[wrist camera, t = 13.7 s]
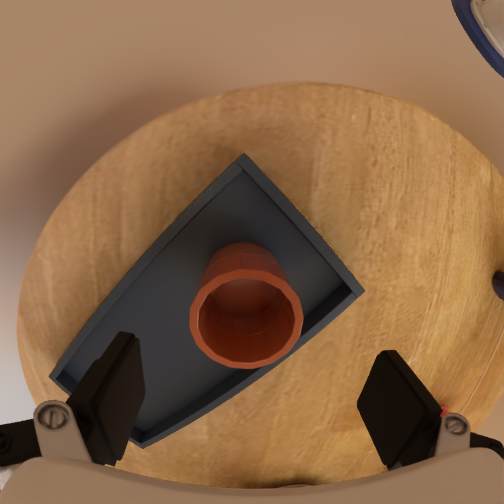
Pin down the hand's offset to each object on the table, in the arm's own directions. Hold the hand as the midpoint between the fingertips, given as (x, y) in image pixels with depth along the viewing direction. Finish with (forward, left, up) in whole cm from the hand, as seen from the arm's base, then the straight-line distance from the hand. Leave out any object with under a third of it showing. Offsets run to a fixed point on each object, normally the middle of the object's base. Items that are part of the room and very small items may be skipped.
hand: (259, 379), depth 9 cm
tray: (+7, -6, -13) cm, 15 cm away
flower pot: (0, 0, -12) cm, 12 cm away
